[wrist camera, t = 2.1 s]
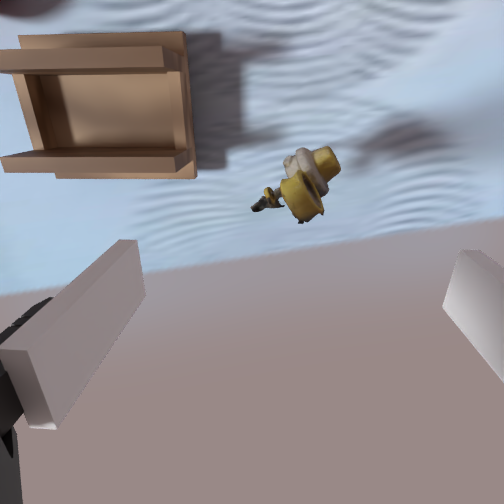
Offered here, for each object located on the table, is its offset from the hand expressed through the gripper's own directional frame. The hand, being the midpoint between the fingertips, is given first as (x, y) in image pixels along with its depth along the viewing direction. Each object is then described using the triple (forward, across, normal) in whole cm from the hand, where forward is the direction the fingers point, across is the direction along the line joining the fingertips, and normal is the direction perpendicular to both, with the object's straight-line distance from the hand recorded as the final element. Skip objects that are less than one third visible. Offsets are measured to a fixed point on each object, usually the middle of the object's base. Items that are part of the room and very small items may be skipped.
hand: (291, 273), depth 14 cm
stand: (+22, -16, +6) cm, 27 cm away
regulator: (+22, 0, +1) cm, 22 cm away
